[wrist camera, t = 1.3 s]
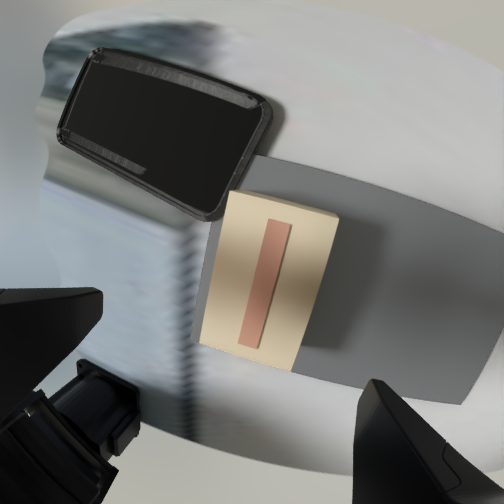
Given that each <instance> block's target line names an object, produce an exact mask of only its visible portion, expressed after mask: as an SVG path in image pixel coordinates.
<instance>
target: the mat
mask: <svg viewBox="0 0 504 504" xmlns="http://www.w3.org/2000/svg"><path fill="white" fill-rule="evenodd" d="M235 190H248V191H252V192H256V193H260V194H264V195H268V196H272V197H276V198H280V199H284V200H288V201H292V202H296V203H299V204H303V205H307V206H311V207H314V208H318V209H322V210H325V211H329V212H332V213H336V215H337V216H338V218H339V222H338V225H337V229H336V233H335V236H334V240H333V243H332V247H331V250H330V254H329V257H328V261H327V264H326V267H325V271H324V274H323V277H322V280H321V284H320V287H319V290H318V293H317V296H316V299H315V303H314V306H313V309H312V312H311V315H310V318H309V321H308V324H307V327H306V330H305V333H304V335H303V338H302V341H301V344H300V347H299V350H298V353H297V355H296V358H295V361H294V364H293V366H292V369H291V372H294V373H297V374H301V375H305V376H309V377H313V378H317V379H321V380H325V381H329V382H333V383H337V384H342V385H346V386H350V387H355V388H360V389H365V387H366V385H367V383H368V381H369V380H370V379H372V378H374V379H379V380H383V381H384V382H385V383H386V384H387V385H388V386H389V387H391V388H392V389H393V390H394V391H395V392H396V393H397V394H398V395H399V396H401V397H407V398H413V399H419V400H426V401H433V402H440V403H448V404H456V405H461V404H462V402H463V401H464V399H465V397H466V396H467V394H468V393H469V391H470V389H471V388H472V386H473V384H474V383H475V381H476V379H477V377H478V376H479V374H480V372H481V370H482V368H483V367H484V365H485V363H486V361H487V359H488V357H489V355H490V353H491V351H492V349H493V347H494V345H495V343H496V341H497V339H498V337H499V335H500V333H501V330H502V328H503V326H504V234H503V233H500V232H498V231H496V230H493V229H491V228H489V227H486V226H484V225H482V224H479V223H477V222H475V221H472V220H470V219H467V218H465V217H462V216H460V215H457V214H455V213H452V212H449V211H447V210H444V209H441V208H439V207H436V206H433V205H431V204H428V203H425V202H422V201H419V200H416V199H414V198H411V197H408V196H405V195H402V194H399V193H396V192H393V191H390V190H387V189H383V188H380V187H377V186H374V185H371V184H367V183H364V182H361V181H357V180H354V179H351V178H347V177H344V176H340V175H336V174H333V173H329V172H325V171H322V170H318V169H314V168H310V167H306V166H302V165H298V164H294V163H290V162H286V161H282V160H277V159H273V158H268V157H264V156H259V155H255V154H253V155H252V157H251V159H250V161H249V163H248V165H247V167H246V169H245V171H244V173H243V175H242V177H241V179H240V181H239V183H238V185H237V187H236V189H235ZM224 214H225V211H224V213H223V214H222V216H220V217H219V218H218V219H216V220H213V221H212V222H211V227H210V232H209V237H208V242H207V247H206V252H205V258H204V263H203V268H202V273H201V279H200V284H199V290H198V295H197V301H196V307H195V312H194V318H193V324H192V330H191V336H190V340H193V341H196V342H199V341H200V335H201V330H202V324H203V319H204V314H205V308H206V303H207V298H208V293H209V287H210V282H211V277H212V272H213V267H214V262H215V257H216V252H217V248H218V243H219V238H220V233H221V228H222V224H223V219H224Z"/></svg>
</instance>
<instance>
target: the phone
mask: <svg viewBox="0 0 504 504" xmlns="http://www.w3.org/2000/svg"><path fill="white" fill-rule="evenodd" d="M272 120H273V111H272V108H271V106H270V105H269V103H268V102H267V101H266V99H265V98H263V97H262V96H260V95H258V94H256V93H253V92H251V91H248V90H246V89H243V88H240V87H238V86H235V85H233V84H230V83H227V82H224V81H222V80H219V79H216V78H213V77H210V76H207V75H204V74H201V73H198V72H195V71H192V70H189V69H186V68H183V67H179V66H176V65H173V64H169V63H166V62H162V61H159V60H155V59H151V58H147V57H143V56H139V55H135V54H131V53H127V52H122V51H118V50H113V49H108V48H103V47H99V48H97V49H95V50H93V51H92V52H91V53H90V54H89V55H88V57H87V59H86V60H85V62H84V64H83V67H82V69H81V71H80V73H79V75H78V77H77V79H76V82H75V84H74V86H73V88H72V91H71V93H70V95H69V98H68V100H67V103H66V105H65V108H64V110H63V113H62V115H61V118H60V121H59V123H58V127H57V133H56V135H57V140H58V142H59V143H60V144H62V145H64V146H65V147H67V148H69V149H71V150H73V151H75V152H76V153H78V154H80V155H82V156H84V157H85V158H87V159H89V160H91V161H93V162H94V163H96V164H98V165H100V166H102V167H104V168H105V169H107V170H109V171H111V172H113V173H114V174H116V175H118V176H120V177H122V178H124V179H125V180H127V181H129V182H131V183H133V184H134V185H136V186H138V187H140V188H142V189H143V190H145V191H147V192H149V193H151V194H152V195H154V196H156V197H158V198H160V199H161V200H163V201H165V202H167V203H169V204H171V205H172V206H174V207H176V208H178V209H180V210H181V211H183V212H185V213H187V214H189V215H190V216H192V217H194V218H196V219H198V220H200V221H203V222H210V221H213V220H216V219H218V218H219V217H220V216H222V214H223V213H224V211H225V210H226V205H227V201H228V196H229V192H230V191H232V190H235V189H236V187H237V185H238V183H239V181H240V179H241V177H242V175H243V173H244V171H245V169H246V167H247V165H248V163H249V161H250V159H251V157H252V155H253V154H255V155H256V153H257V151H258V149H259V147H260V145H261V143H262V141H263V139H264V137H265V135H266V133H267V131H268V129H269V127H270V125H271V123H272Z"/></svg>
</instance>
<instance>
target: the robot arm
mask: <svg viewBox="0 0 504 504" xmlns="http://www.w3.org/2000/svg"><path fill="white" fill-rule="evenodd" d="M102 314H103V293H102V291H100V290H98V289H96V288H94V287H78V288H24V289H23V288H20V289H0V504H101V503H102V501H103V499H104V497H105V496H106V494H107V492H108V490H109V488H110V486H111V485H112V482H113V481H114V479H115V477H116V475H117V473H118V472H119V470H118V469H117V468H116V467H114V466H112V465H111V464H110V463H109V462H107V461H108V460H109V459H110V458H111V456H112V455H114V456H116V457H117V456H120V454H121V453H122V452H123V451H124V449H125V448H126V447H127V446H128V444H129V443H130V442H131V441H132V439H133V438H134V437H137V436H138V434H139V430H140V410H139V391H138V389H137V388H136V387H134V386H132V385H130V384H128V383H126V382H124V381H122V380H120V379H118V378H116V377H114V376H112V375H110V374H108V373H106V372H104V371H103V370H101V369H99V368H97V367H95V366H93V365H92V364H90V363H88V362H86V361H84V360H83V359H80V360H78V361H77V374H78V375H77V376H76V377H75V378H74V379H72V380H71V381H70V382H69V383H67V384H66V385H65V386H64V387H62V388H61V389H60V390H59V391H57V392H56V393H55V394H54V395H52V396H51V397H50V398H49V399H48V398H47V397H46V396H45V393H44V392H43V390H42V389H40V390H39V391H37V392H35V391H33V389H34V388H35V387H36V386H37V385H38V384H39V383H40V382H41V381H42V380H43V379H44V378H45V377H46V376H47V375H48V374H49V373H50V372H51V371H52V370H53V369H55V368H56V366H58V365H59V364H60V362H61V361H62V360H64V359H65V358H66V357H67V356H68V355H69V354H70V353H71V352H72V351H73V350H74V349H75V348H76V347H77V346H78V345H79V344H80V343H81V341H82V340H83V339H84V338H85V337H86V336H87V334H88V333H89V332H90V331H91V330H92V328H93V327H94V326H95V325H96V324H97V323H98V322H99V320H100V319H101V317H102ZM28 413H29V414H30V415H31V416H30V417H29V416H28ZM352 504H504V489H503V488H502V487H500V486H499V485H497V484H496V483H495V482H494V481H492V480H491V479H490V478H489V477H487V476H486V475H485V474H484V473H482V472H481V471H480V470H479V469H477V468H476V467H475V466H474V465H472V464H471V463H470V462H469V461H468V460H466V459H465V458H464V457H463V456H462V455H461V454H460V453H459V452H457V451H456V450H455V449H454V448H453V447H452V446H451V445H450V444H449V443H448V442H446V440H445V439H444V438H443V437H442V436H441V435H440V434H438V433H437V432H436V431H435V430H434V429H433V428H432V427H431V426H430V425H429V424H428V423H427V422H426V421H425V420H424V419H423V418H422V417H421V416H420V415H419V414H418V413H417V412H416V411H414V410H413V409H412V408H411V407H410V406H409V405H408V404H407V403H406V402H405V401H404V400H403V399H402V398H401V397H400V396H399V395H398V394H397V393H396V392H395V391H394V390H393V389H392V388H391V387H389V386H388V385H387V384H386V383H385V382H384V381H383V380H379V379H374V378H372V379H370V380H369V381H368V383H367V385H366V387H365V389H364V391H363V393H362V395H361V397H360V399H359V401H358V405H357V415H356V425H355V434H354V443H353V499H352Z"/></svg>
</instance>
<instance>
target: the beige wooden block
mask: <svg viewBox="0 0 504 504" xmlns="http://www.w3.org/2000/svg"><path fill="white" fill-rule="evenodd" d="M338 222H339V218H338V216H337V215H336V213H332V212H329V211H325V210H322V209H318V208H314V207H311V206H307V205H303V204H299V203H296V202H292V201H288V200H284V199H280V198H276V197H272V196H268V195H264V194H260V193H256V192H252V191H248V190H232V191H230V192H229V196H228V201H227V205H226V210H225V214H224V219H223V224H222V228H221V233H220V238H219V243H218V248H217V252H216V257H215V262H214V267H213V272H212V277H211V282H210V287H209V293H208V298H207V303H206V308H205V314H204V319H203V324H202V330H201V335H200V341H199V343H201V344H204V345H207V346H210V347H213V348H215V349H218V350H221V351H224V352H227V353H230V354H233V355H236V356H239V357H243V358H246V359H249V360H252V361H255V362H259V363H262V364H265V365H269V366H272V367H276V368H279V369H283V370H286V371H290V372H291V369H292V366H293V364H294V361H295V358H296V355H297V353H298V350H299V347H300V344H301V341H302V338H303V335H304V333H305V330H306V327H307V324H308V321H309V318H310V315H311V312H312V309H313V306H314V303H315V299H316V296H317V293H318V290H319V287H320V284H321V280H322V277H323V274H324V271H325V267H326V264H327V261H328V257H329V254H330V250H331V247H332V243H333V240H334V236H335V233H336V229H337V225H338Z"/></svg>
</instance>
